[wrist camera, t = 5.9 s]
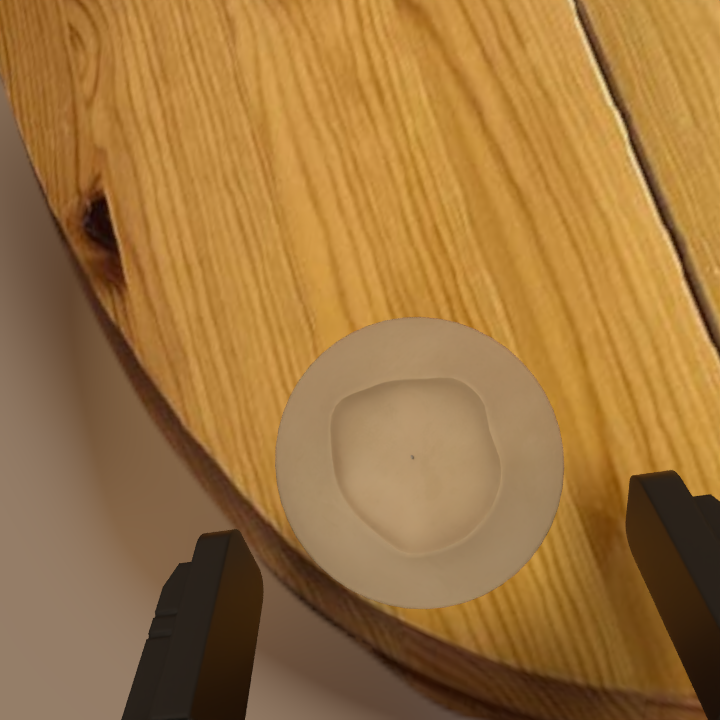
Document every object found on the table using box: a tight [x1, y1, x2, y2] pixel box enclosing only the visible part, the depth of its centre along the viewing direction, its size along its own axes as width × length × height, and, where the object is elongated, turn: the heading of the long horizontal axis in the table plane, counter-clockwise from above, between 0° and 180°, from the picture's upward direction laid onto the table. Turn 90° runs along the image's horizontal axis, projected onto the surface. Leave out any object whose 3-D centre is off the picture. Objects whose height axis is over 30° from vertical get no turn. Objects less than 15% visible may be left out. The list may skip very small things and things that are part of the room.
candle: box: [275, 317, 564, 609], centre depth 14 cm, size 6×6×10 cm
